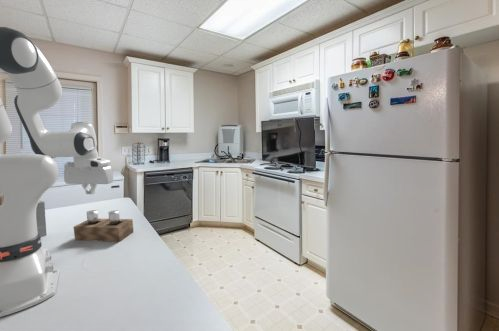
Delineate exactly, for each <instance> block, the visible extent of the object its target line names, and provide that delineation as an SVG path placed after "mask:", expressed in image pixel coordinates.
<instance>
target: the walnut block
mask: <svg viewBox="0 0 499 331" xmlns="http://www.w3.org/2000/svg"><path fill="white" fill-rule="evenodd" d="M98 221H99V223H97V224H95V225H88V221H87V220H85V221H83V222H81V223H78V224H76V225H74V226H73V233H74V241H80V242H81V241H82V242H109V241H110V243H111V242H115V243H121V242H122V241H123V240H124V239H126V238H127V237H129V236H130V235H131V234H134V223H133V222H134V221H133V218H132V219H131V218H120V224H118V225H110V224H109V218H98Z"/></svg>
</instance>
